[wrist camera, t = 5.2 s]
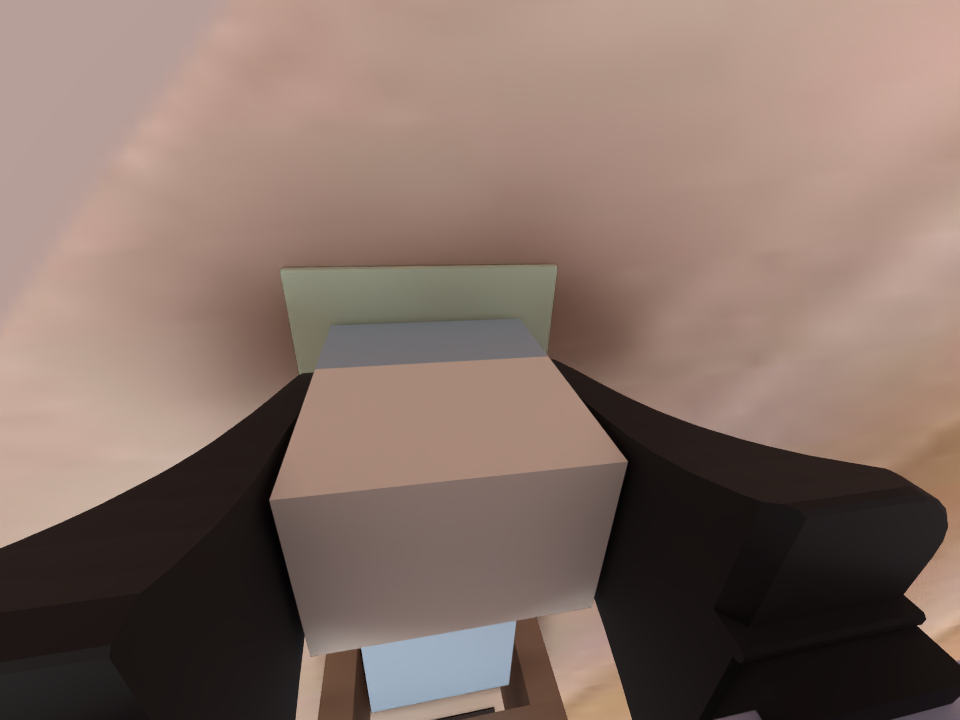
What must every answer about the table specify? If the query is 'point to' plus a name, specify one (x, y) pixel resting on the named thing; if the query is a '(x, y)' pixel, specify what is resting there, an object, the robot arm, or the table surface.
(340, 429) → the block
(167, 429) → the table surface
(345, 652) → the tunnel
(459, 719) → the pad
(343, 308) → the mat
